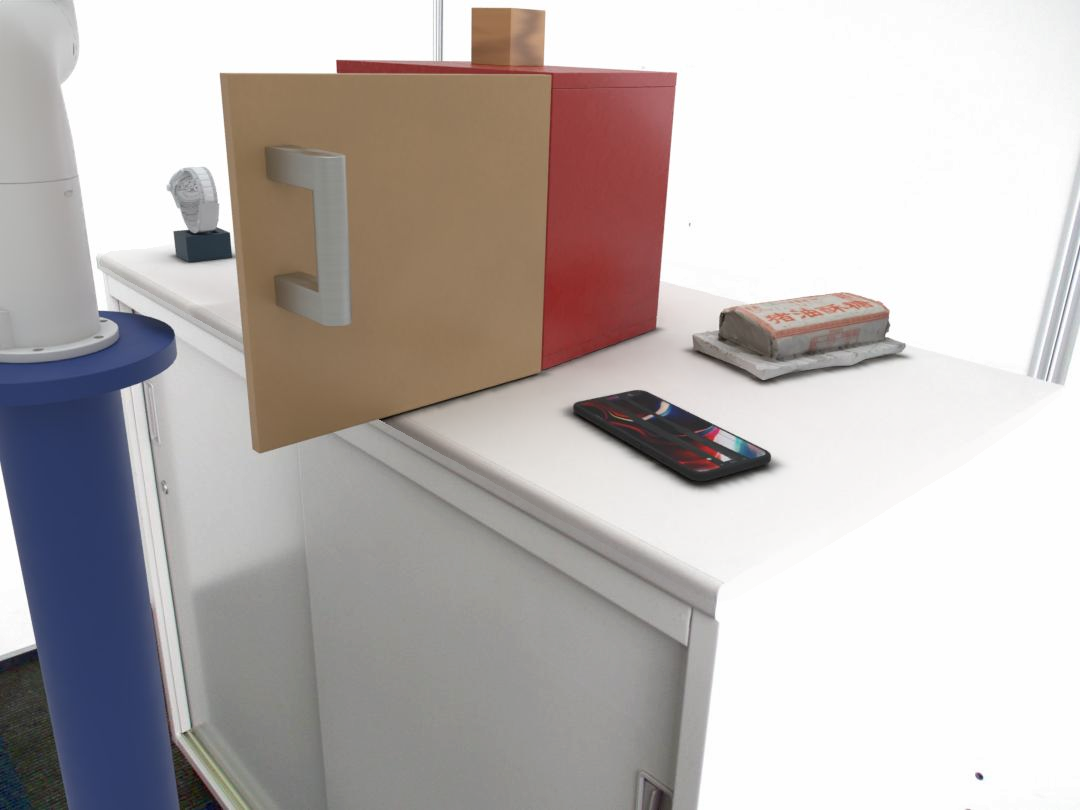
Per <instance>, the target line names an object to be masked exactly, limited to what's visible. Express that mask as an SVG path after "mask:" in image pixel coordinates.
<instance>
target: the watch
mask: <svg viewBox="0 0 1080 810" xmlns="http://www.w3.org/2000/svg"><path fill="white" fill-rule="evenodd" d="M166 190H167V192H170V194H171V195H172V197H173V200H174V203H175V205H176V208H177V209H179V211H180V214H181V217H182V219H183V223H184V224H185V227H186V228H187V229H181V230H173V241H174V249H175V250H174V251H175V257H177V258H179V259H181V260H183V261H185V262H187V263H196V262H203V261H212V260H213V261H214V260H220V259H230V258H233V252H232V251H233V250H232V240H231V239H232V238H231V232H229V231H228V230H224V229H222V228H220V227H218V223H219V221H220V219H219V215H220V203H219V199H218V191H217V186H216V182H215V179H214V177H213V174H212V172H211V171H210V170H209V168H207V167H206V166H196V167H195V166H188V167H182V168H180V169H179V170H178V171H176V172H175V173H174V174H173V175H172V176H171V177H170V179H169V181H168V184H166Z"/></svg>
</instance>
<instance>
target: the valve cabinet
mask: <svg viewBox="0 0 1080 810" xmlns="http://www.w3.org/2000/svg"><path fill="white" fill-rule="evenodd" d="M335 63H336V64H335V67H336V73H364V74H545V75H551V101H550V129H549V157H548V185H547V214H546V242H545V270H544V298H543V326H542V355H541V371H544V370H546V369H547V370H548V369H549V368H552V367H555V366H557V365H560V364H564V363H566V362H569V361H571V360H574V359H577V358H581V357H582V356H585V355H587V354H591V353H593V352H596V351H599V350H601V349H604V348H608V347H610V346H613V345H616V344H619V343H621V342H624V341H626V340H629V339H631V338H635V337H637V336H640V335H643V334H645V333H648V332H651V331H654V330H656V329H657V322H658V321H657V320H658V310H659V299H660V298H659V296H660V284H661V272H662V261H663V260H662V259H663V247H664V236H665V224H666V211H667V199H668V188H669V187H668V185H669V174H670V163H671V162H670V161H671V151H672V150H671V149H672V137H673V128H674V127H673V124H674V114H675V102H676V89H677V80H678V72H673V71H655V70H654V71H653V70H638V69H637V70H636V69H619V68H617V69H616V68H599V67H582V66H581V67H580V66H565V65H564V66H561V65H545V64H544V66H498V65H480V64H471V60H470V61H467V60H465V61H464V60H462V61H461V60H394V59H393V60H392V59H391V60H390V59H389V60H387V59H385V60H383V59H382V60H381V59H336V60H335Z"/></svg>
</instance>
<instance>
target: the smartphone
mask: <svg viewBox="0 0 1080 810" xmlns="http://www.w3.org/2000/svg"><path fill="white" fill-rule="evenodd" d="M572 409H573V412H574V413H575V414H577V415H578V416H580V417H582V418H584V419H585V420H587V421H589V422H590V423H593V424H594V425H596V426H598V427H599V428H601V429H603V430H604V431H606V432H608V433H609V434H611V435H613V436H615V437H616V438H618V439H619V440H621V441H624V442H625V443H627V444H628V445H631V446H632V447H634V448H635V449H637V450H639V451H641V452H643V453H645V454H646V455H647V456H650V457H651V458H653V459H654V460H656V461H658V462H660V463H662V464H663V465H664V466H667V467H668V468H670V469H672V470H674V471H675V472H677V473H679V474H680V475H682V476H684V477H685V478H687V479H689V480H692V481H695V482H706V481H711V480H714V479H718V478H721V477H726V476H729V475H732V474H736V473H739V472H743V471H747V470H750V469H754V468H757V467H761V466H765V465H767V464H769V463H770V461H771V460H772V454H771V452H770V451H769V450H767V449H766V448H763V447H761V446H759V445H757V444H755V443H753V442H751V441H749V440H747V439H744V438H742V437H741V436H739V435H736V434H735V433H733V432H730V431H729V430H726V429H724V428H723V427H720V426H719V425H716V424H714V423H712V422H710V421H708V420H706V419H704V418H703V417H700V416H698V415H695V414H694V413H692V412H690V411H687V410H686V409H684V408H681V407H679V406H677V405H676V404H674V403H671V402H669V401H667V400H665V399H664V398H661V397H659V396H657V395H655V394H653V393H651V392H649V391H647V390H642V389H633V390H627V391H623V392H618V393H613V394H609V395H604V396H600V397H594V398H588V399H584V400H579V401H576V402H574V403H573V404H572Z"/></svg>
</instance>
